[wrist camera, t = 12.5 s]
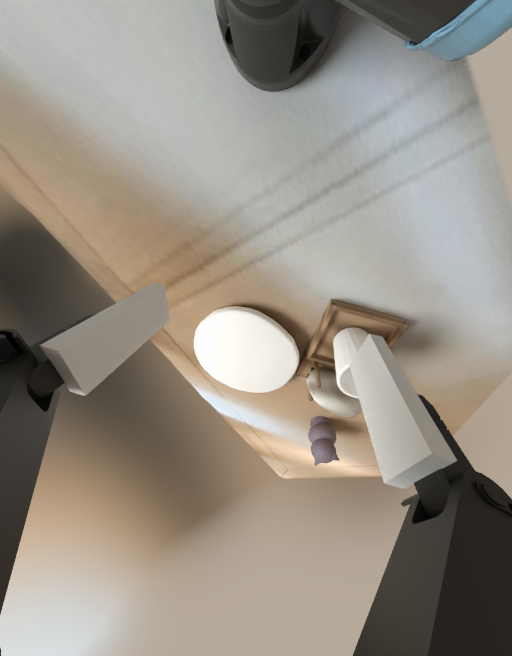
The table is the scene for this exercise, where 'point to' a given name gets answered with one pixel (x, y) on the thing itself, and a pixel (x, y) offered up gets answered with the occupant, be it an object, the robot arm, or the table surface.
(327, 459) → the cat figurine
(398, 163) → the table surface
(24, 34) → the table surface
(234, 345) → the plate
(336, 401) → the rack
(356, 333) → the cup
